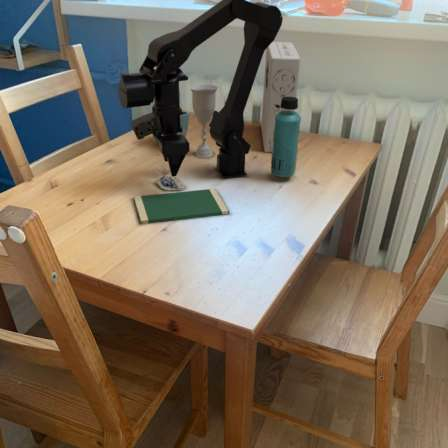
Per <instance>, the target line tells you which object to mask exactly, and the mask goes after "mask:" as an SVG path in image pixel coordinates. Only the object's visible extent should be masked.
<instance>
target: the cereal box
mask: <svg viewBox="0 0 448 448" xmlns="http://www.w3.org/2000/svg"><path fill="white" fill-rule="evenodd" d="M264 66H265V67H264V76H263V77H264V79H263V90H262V91H263V92H262V93H263V94H262V107H261V121H260V127H261V128H260V130H261V136H262V137H261V138H262V143H263V145H262V146H263V152H265V153H273V150H272V148H273V141H274V139H273V138H274V137H273V136H274V134H273V133H274V130H275V116H276V115H277V114H278V113H279V112H281V111H284V110H288V109H283V108H281V107H280V106H281V101H282V98H283V97H295V98H297V99H298V96H297V95H298V88H299V87H298V86H299V78H300V69H301V57H300V55H299V52H298V51H297V49H296V47H295V45H294V43H293V42H292V41H291V42H290V41H289V42H288V41H273V42H272V43H271V44H270V45H269V46H268V48H267V49H266V50H265V65H264ZM291 111H295V112H296V109H294V110H291Z"/></svg>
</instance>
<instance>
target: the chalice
mask: <svg viewBox="0 0 448 448" xmlns="http://www.w3.org/2000/svg"><path fill="white" fill-rule="evenodd" d="M218 88H219V87H218V86H217V85H215V84H212V83H211V84H210V83H198V84H193V85H191V86H189V89H190V91H191V94H192V95H191V96H192V97H191V99H192V102H191V103H192V109H193V113H194V116H195V117H196V119H197V122H198V123H200V124H201V130H200V131H201V133H202V134H201V137H200V138H201V140H202V141H201V142H202V143H201V144H200V145H198V146H197V149H196V152H195V154H194V155H195V156H196V157H198V158H202V159H203V158H204V159H206V158H211V157H213V156H214V153H213V150H212V148H211V146H210V145H209V144H208V143H207V139H208V136H207V132H208V129H207V124H210V122H211V120H212V117H213V112H214V111H215V110H216V98H217V97H216V96H217V95H216V93H217V90H218Z"/></svg>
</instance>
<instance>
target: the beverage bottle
mask: <svg viewBox="0 0 448 448" xmlns="http://www.w3.org/2000/svg"><path fill="white" fill-rule="evenodd" d="M280 107H281V108H283V109H288V110H284V111H281V112H279V113H278V114H277V115H276V116H275V130H274V133H273V134H274V136H273V137H274V138H273V139H274V141H273V148H272V150H273V152H271V157H270V158H271V159H270V160H271V161H270V171H271V174H272V175H274V176H275V177H281V178H289V177H291V176H294V175H295V172H296V170H297V169H296V167H297V161H298V159H297V158H298V151H299V150H298V148H299V145H298V144H299V137H300V129H301V121H302V117H301V115H300V114H299V113H298V112H297V111H296V110H297V109H299V99H298V97H297V98H295V97H283V98H282V101H281V106H280ZM294 109H295V111H291V110H294Z"/></svg>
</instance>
